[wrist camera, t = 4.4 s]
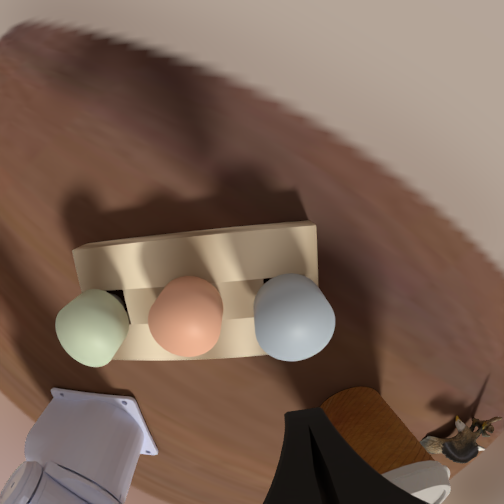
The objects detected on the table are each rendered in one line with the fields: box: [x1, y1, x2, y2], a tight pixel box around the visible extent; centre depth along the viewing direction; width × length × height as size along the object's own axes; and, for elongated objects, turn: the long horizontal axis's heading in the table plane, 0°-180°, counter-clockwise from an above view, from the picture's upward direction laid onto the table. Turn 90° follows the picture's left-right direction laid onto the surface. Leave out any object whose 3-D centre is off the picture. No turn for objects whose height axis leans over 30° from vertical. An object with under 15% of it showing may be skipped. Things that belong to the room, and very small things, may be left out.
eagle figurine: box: [420, 416, 502, 463], centre depth 22 cm, size 8×7×9 cm
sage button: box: [55, 289, 129, 367], centre depth 16 cm, size 4×4×4 cm
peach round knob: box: [148, 276, 224, 357], centre depth 17 cm, size 4×4×4 cm
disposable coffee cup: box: [320, 387, 451, 504], centre depth 17 cm, size 10×10×12 cm
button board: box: [72, 220, 318, 360], centre depth 18 cm, size 15×8×2 cm, turn 95°
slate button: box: [253, 273, 335, 361], centre depth 16 cm, size 4×4×4 cm
